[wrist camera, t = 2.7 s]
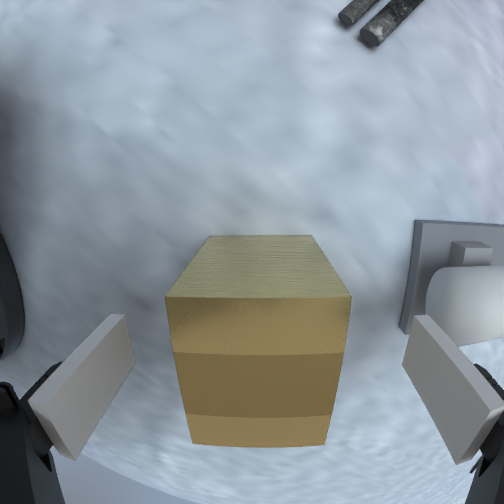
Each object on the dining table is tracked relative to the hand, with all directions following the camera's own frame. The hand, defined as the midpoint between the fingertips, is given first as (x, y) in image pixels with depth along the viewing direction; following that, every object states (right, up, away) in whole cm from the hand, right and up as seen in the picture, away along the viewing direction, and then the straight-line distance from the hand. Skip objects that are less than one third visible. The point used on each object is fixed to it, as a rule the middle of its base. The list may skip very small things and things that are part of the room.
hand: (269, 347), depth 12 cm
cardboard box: (0, +2, +5) cm, 5 cm away
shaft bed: (+19, +3, +4) cm, 19 cm away
